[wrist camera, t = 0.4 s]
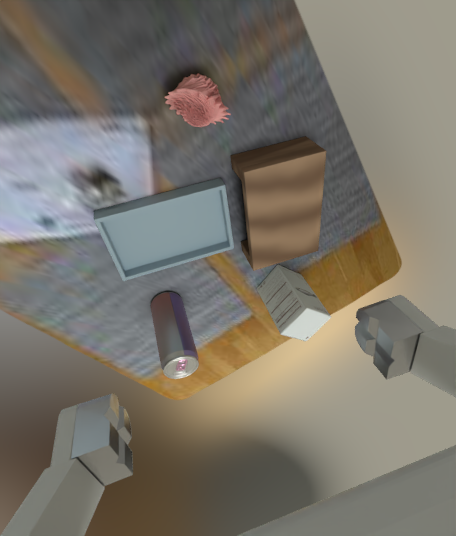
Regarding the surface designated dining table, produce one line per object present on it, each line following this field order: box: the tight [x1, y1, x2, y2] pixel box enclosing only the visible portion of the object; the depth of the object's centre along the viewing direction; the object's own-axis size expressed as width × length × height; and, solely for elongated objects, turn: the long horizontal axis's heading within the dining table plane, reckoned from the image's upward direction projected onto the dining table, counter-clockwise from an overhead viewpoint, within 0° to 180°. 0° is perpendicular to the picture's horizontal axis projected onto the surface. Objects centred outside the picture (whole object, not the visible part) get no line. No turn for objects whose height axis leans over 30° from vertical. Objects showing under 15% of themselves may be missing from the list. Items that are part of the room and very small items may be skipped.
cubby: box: [231, 137, 326, 271], centre depth 53 cm, size 18×12×6 cm, turn 7°
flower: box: [165, 73, 231, 127], centre depth 39 cm, size 8×8×6 cm
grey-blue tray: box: [94, 178, 234, 281], centre depth 52 cm, size 12×19×2 cm, turn 97°
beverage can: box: [151, 292, 199, 379], centre depth 57 cm, size 6×6×15 cm
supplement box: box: [257, 264, 331, 341], centre depth 64 cm, size 7×7×13 cm
